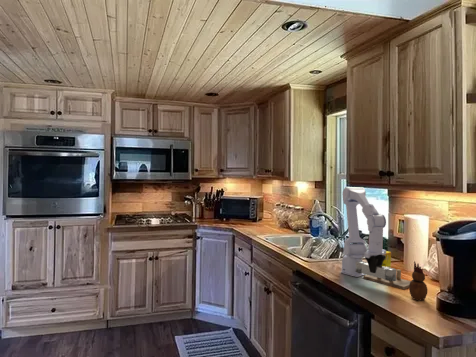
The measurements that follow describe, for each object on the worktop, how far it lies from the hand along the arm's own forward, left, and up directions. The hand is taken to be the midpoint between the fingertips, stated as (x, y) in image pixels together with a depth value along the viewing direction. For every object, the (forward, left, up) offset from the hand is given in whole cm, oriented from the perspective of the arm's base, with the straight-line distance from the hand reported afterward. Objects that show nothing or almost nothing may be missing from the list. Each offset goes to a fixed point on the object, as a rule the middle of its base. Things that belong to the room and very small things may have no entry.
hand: (374, 271), depth 157 cm
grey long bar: (0, 0, -2) cm, 2 cm away
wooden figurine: (+19, 0, -7) cm, 20 cm away
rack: (0, +13, -7) cm, 15 cm away
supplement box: (-11, +26, -7) cm, 29 cm away
